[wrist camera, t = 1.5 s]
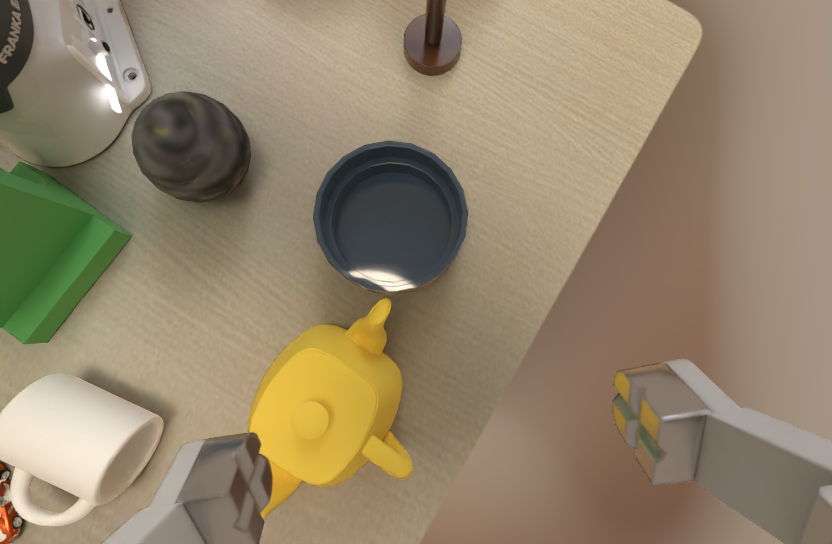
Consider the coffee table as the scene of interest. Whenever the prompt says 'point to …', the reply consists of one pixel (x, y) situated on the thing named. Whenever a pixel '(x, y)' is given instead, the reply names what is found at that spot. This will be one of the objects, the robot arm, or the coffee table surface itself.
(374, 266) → the bowl
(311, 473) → the teapot
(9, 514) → the toy car
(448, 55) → the wooden peg stand
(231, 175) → the decorative stone
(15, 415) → the mug
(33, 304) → the ramp block with notch
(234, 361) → the coffee table surface
